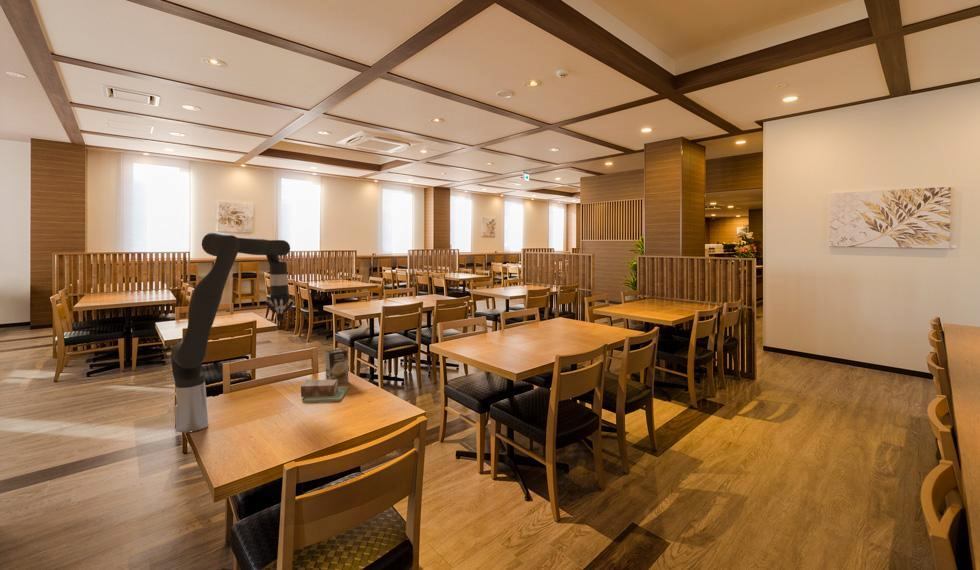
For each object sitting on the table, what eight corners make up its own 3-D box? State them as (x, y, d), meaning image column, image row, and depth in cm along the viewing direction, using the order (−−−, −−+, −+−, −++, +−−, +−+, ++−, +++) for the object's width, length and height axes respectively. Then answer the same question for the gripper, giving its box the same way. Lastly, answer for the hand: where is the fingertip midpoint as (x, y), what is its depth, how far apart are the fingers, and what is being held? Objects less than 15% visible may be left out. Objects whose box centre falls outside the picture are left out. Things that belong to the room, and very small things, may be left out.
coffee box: (330, 386, 210) (329, 353, 208) (325, 382, 215) (324, 350, 213) (349, 382, 216) (347, 350, 214) (344, 378, 220) (343, 347, 219)
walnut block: (300, 386, 192) (333, 385, 194) (306, 380, 200) (337, 379, 202) (301, 397, 193) (334, 396, 195) (306, 390, 201) (338, 389, 203)
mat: (302, 402, 189) (302, 400, 189) (313, 389, 205) (313, 387, 205) (340, 400, 191) (340, 398, 191) (348, 388, 207) (348, 386, 207)
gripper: (260, 285, 193) (262, 323, 195) (291, 284, 195) (293, 322, 197) (267, 283, 201) (269, 319, 203) (296, 282, 202) (298, 319, 204)
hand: (281, 321), depth 200 cm, fingers closed
